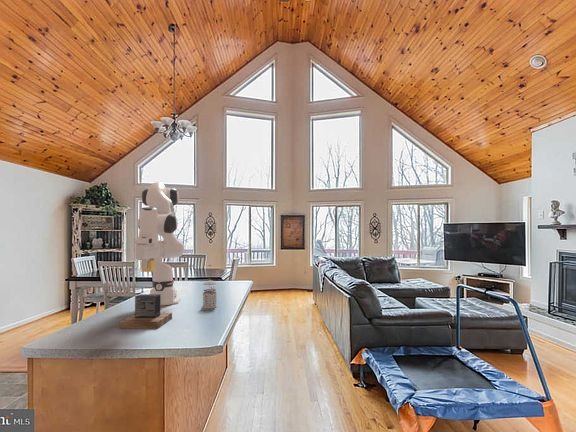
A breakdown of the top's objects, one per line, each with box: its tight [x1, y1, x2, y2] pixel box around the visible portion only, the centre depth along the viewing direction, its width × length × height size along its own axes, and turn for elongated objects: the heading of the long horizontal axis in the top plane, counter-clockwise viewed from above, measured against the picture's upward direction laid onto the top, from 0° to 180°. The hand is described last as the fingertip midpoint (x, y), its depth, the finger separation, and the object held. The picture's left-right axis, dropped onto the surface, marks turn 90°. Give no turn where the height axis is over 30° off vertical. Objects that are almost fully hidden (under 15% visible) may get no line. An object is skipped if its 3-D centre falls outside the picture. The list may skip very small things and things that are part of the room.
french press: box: [201, 263, 219, 309], centre depth 209 cm, size 10×12×25 cm
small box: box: [134, 293, 161, 318], centre depth 173 cm, size 11×6×10 cm, turn 87°
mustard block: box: [140, 260, 155, 273], centre depth 173 cm, size 5×5×5 cm
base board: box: [119, 312, 173, 329], centre depth 172 cm, size 18×18×3 cm
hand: (148, 267), depth 173 cm, fingers closed on mustard block, 5 cm apart
